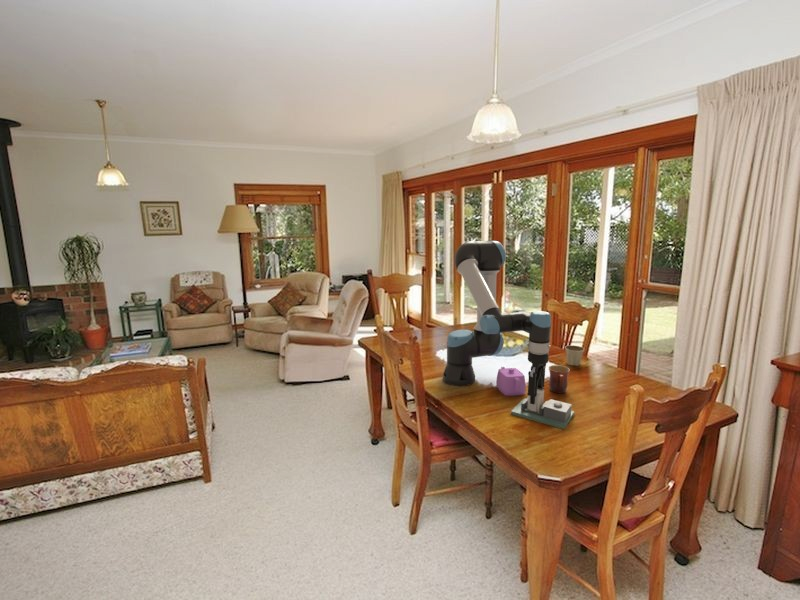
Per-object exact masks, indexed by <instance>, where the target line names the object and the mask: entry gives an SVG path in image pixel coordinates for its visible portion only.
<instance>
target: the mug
mask: <svg viewBox="0 0 800 600" xmlns="http://www.w3.org/2000/svg"><path fill="white" fill-rule="evenodd" d="M548 370H549V380H548V381H549V382H548V387H549V391H551V392H552V393H555V394H564V393H566V392H567V389H568V377H569V374H570V372H571V369H570V368H569V367H568V366H564V365H560V364H559V365H558V364H555V365H554V364H553V365H550V366H548Z"/></svg>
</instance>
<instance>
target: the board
mask: <svg viewBox="0 0 800 600" xmlns="http://www.w3.org/2000/svg"><path fill="white" fill-rule="evenodd" d="M527 406H528V396H527V397H526V398H523V399H522V400H521V401H519V403H518V404H517V405H515V407H513V408H512V410H511V411H510V415H513V416H516V417H520V418H523V419H527V420H530V421H535V422H538V423H541V424H545V425H548V426H552V427H555V428H558V429H561V428H562V429H561V430H565V428H566V427H567V426H568V424H569V422H570V421H571V420H572V418H573V417H574V416H575V411H574V410H572V406H573V405H572V403H568V402H563V401H559V400H555V399H551V398H550V399H549V400H546V401H545V402H543V405H542V406H541V408H540V413H538V412H535V411H531V410H527Z"/></svg>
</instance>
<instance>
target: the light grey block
mask: <svg viewBox="0 0 800 600" xmlns="http://www.w3.org/2000/svg"><path fill="white" fill-rule="evenodd" d="M544 396H545V389H542V388H537V410H536V412H538V413H540V408H541V406H542V405H543V404H544V400H545V399H544V398H545V397H544ZM527 397H528V406H527V410H529V399H530V396H529V395H527Z"/></svg>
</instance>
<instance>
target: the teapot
mask: <svg viewBox="0 0 800 600" xmlns="http://www.w3.org/2000/svg"><path fill="white" fill-rule="evenodd" d="M525 377H526V376H525V375H524V373H523V372H521V370H520V369H518V368H516V367H508V368H507V367H506V368H505V367H504V366H501V367H500V368H499V369H498V370H497V375H496V382H495V384H496V387H497V389H498V390H499V392H500V393H502V395H504V396H507V397H511V396H523V395H525V394H526V391H527V387H526V379H525Z"/></svg>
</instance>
